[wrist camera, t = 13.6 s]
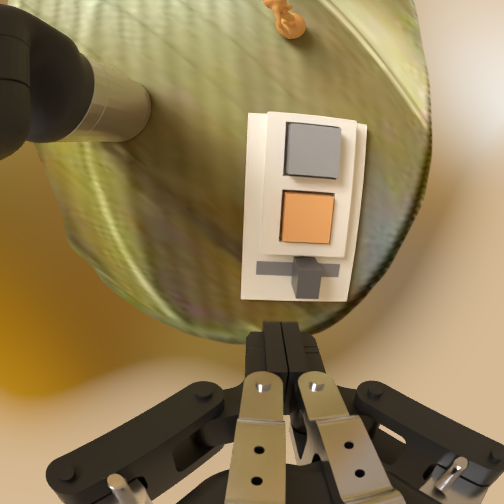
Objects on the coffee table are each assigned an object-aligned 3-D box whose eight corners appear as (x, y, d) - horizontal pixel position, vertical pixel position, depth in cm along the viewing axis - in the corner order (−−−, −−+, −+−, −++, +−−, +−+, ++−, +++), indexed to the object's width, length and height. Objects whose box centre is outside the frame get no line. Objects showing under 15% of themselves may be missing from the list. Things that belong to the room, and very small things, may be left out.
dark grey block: (291, 282, 45) (295, 298, 40) (293, 256, 43) (298, 269, 39) (311, 283, 45) (318, 299, 40) (314, 257, 43) (322, 270, 39)
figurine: (308, 55, 36) (327, 24, 25) (264, 58, 36) (269, 26, 25) (298, 6, 34) (312, -34, 22) (256, 9, 34) (257, -33, 22)
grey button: (285, 172, 39) (288, 173, 35) (288, 125, 37) (291, 123, 34) (331, 175, 39) (338, 177, 36) (334, 130, 37) (341, 128, 34)
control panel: (241, 294, 47) (240, 307, 43) (248, 114, 39) (248, 110, 35) (343, 297, 47) (351, 309, 44) (363, 125, 39) (373, 123, 35)
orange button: (280, 234, 42) (282, 241, 39) (283, 190, 40) (286, 193, 37) (323, 236, 42) (329, 243, 39) (327, 193, 41) (333, 197, 38)
